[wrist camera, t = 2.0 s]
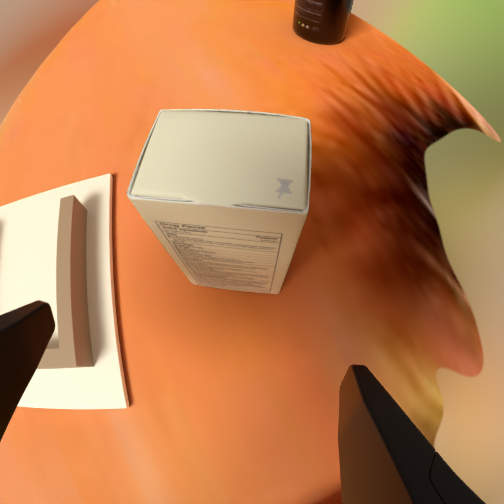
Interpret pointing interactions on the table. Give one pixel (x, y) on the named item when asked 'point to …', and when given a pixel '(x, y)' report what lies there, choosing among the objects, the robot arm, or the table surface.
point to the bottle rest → (67, 292)
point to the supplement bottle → (322, 20)
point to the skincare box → (226, 193)
